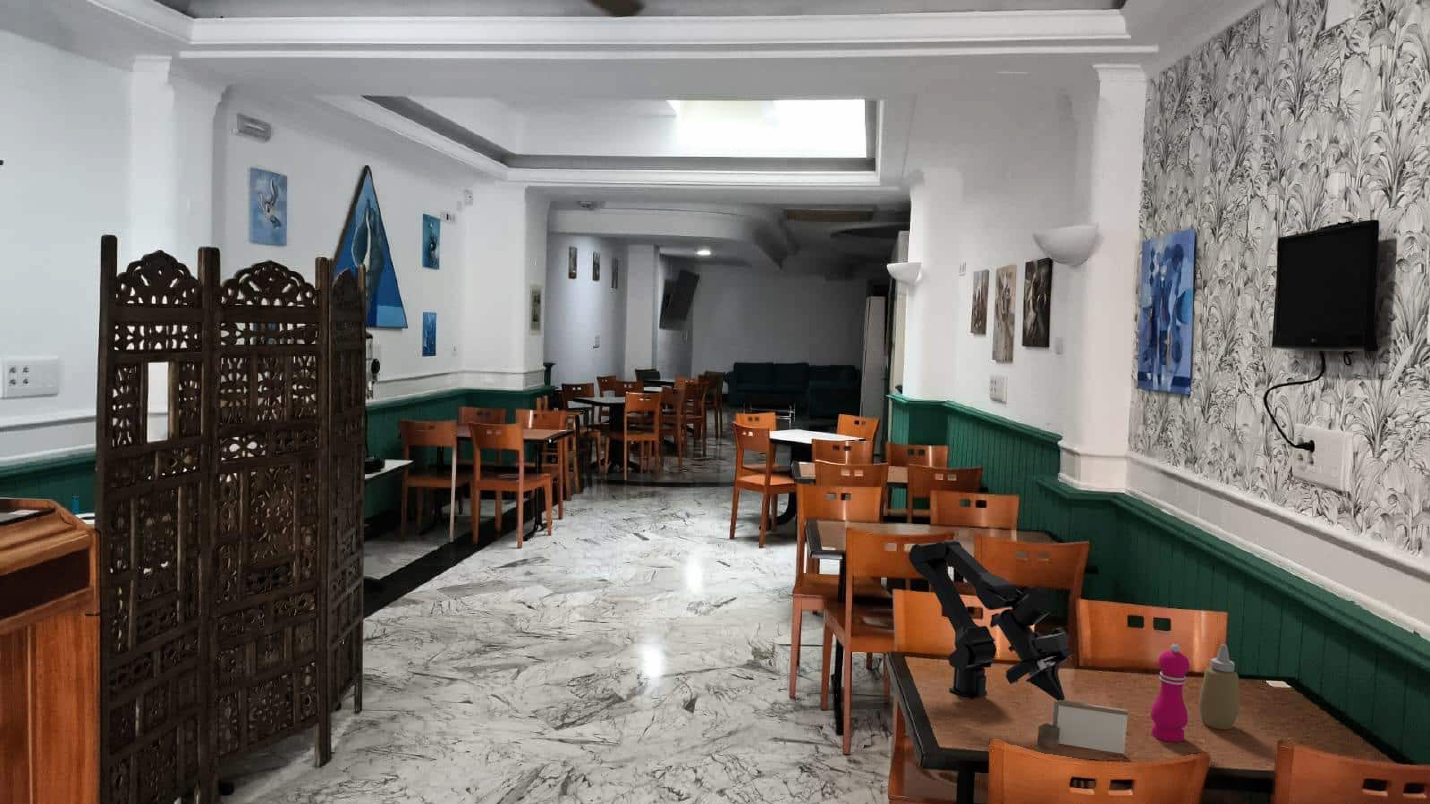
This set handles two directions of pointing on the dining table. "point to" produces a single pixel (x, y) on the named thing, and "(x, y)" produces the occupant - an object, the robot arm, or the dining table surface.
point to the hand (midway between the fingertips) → (1062, 700)
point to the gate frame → (1048, 736)
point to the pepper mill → (1170, 697)
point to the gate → (1091, 725)
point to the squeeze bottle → (1220, 692)
